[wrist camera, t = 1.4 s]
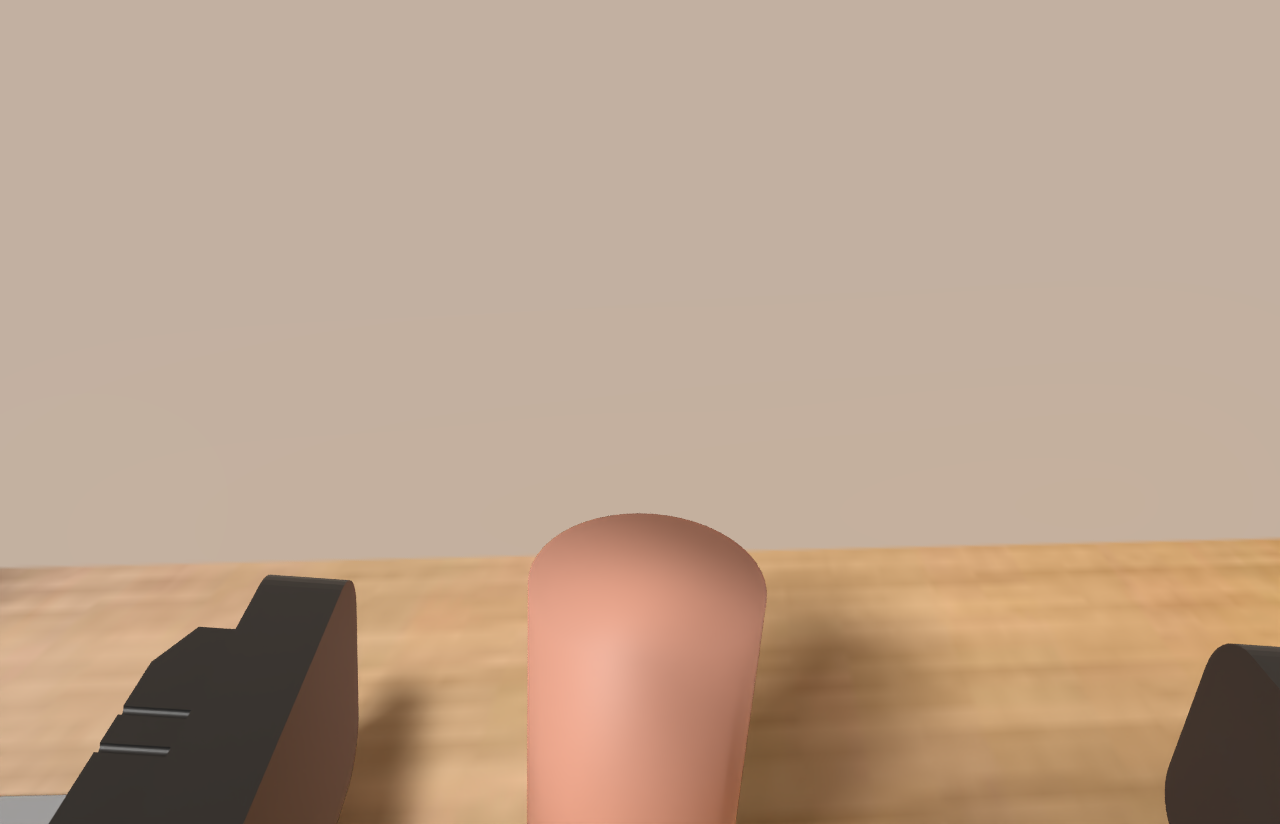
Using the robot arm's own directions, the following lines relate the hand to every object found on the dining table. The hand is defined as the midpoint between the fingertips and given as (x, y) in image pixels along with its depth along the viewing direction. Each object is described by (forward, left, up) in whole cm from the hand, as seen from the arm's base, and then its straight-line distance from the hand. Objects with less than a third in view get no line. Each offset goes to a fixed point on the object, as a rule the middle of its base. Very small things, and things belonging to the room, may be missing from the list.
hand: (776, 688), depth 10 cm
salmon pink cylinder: (0, -11, -19) cm, 22 cm away
